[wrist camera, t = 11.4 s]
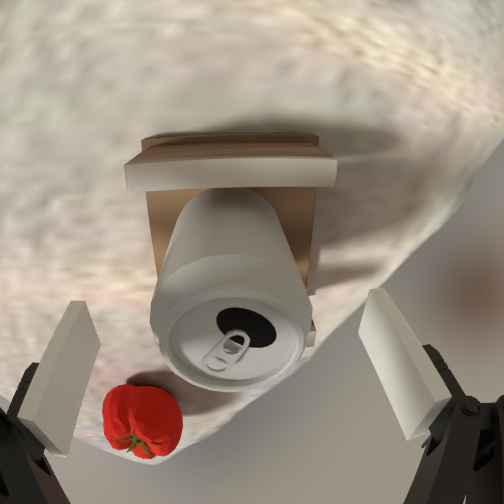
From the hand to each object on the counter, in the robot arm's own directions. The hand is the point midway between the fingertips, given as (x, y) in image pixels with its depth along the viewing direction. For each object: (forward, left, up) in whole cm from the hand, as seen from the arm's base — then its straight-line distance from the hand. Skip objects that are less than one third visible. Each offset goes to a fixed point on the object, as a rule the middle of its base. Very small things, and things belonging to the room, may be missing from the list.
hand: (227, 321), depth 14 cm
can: (0, 0, -11) cm, 11 cm away
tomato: (+21, -11, -12) cm, 27 cm away
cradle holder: (0, 0, -11) cm, 11 cm away
